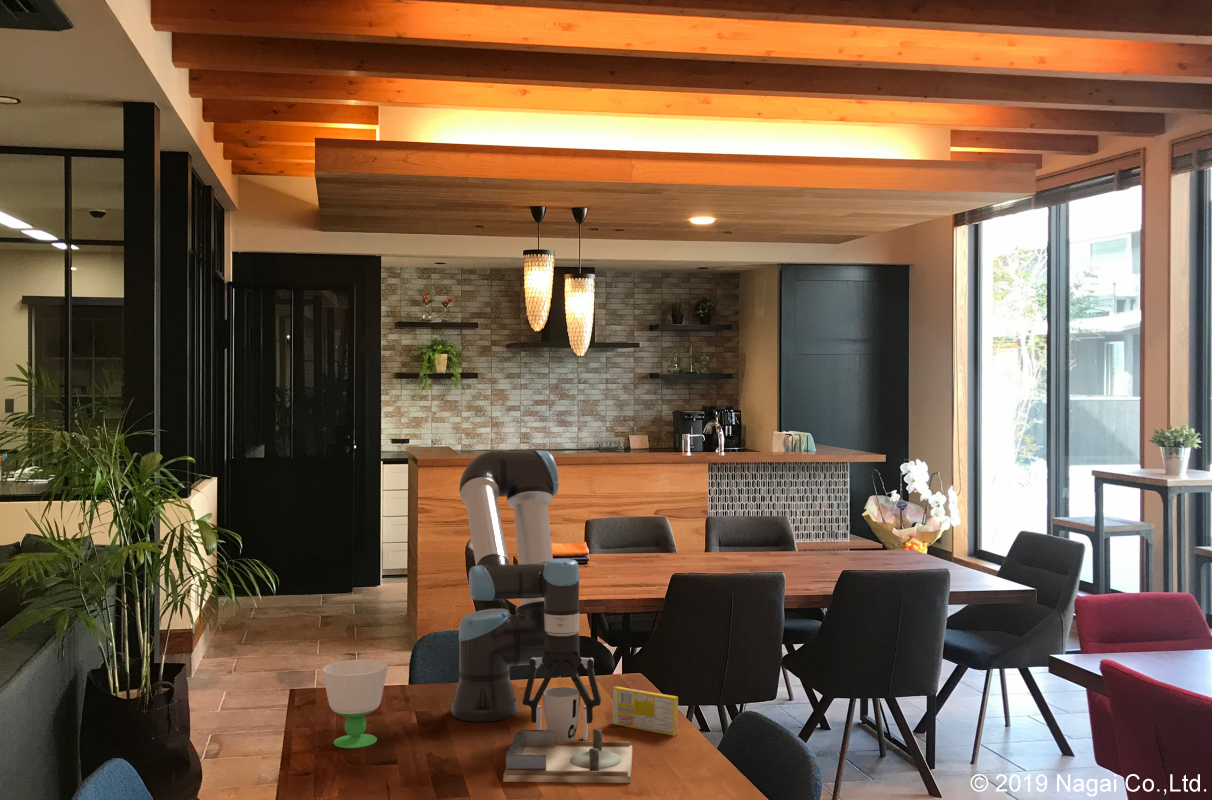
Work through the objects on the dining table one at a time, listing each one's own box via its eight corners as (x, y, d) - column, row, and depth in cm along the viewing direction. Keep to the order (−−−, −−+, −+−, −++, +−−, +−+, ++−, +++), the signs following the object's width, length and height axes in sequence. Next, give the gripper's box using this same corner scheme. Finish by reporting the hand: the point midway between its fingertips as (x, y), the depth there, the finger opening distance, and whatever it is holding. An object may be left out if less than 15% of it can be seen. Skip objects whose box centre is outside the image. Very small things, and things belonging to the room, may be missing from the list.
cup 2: (576, 746, 210) (575, 697, 210) (538, 743, 212) (538, 695, 212) (584, 734, 218) (584, 687, 218) (548, 731, 220) (548, 685, 220)
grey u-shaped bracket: (506, 773, 190) (506, 756, 191) (517, 745, 207) (517, 729, 207) (546, 773, 190) (546, 756, 190) (554, 745, 206) (554, 730, 207)
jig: (503, 781, 190) (503, 753, 190) (516, 750, 208) (516, 724, 208) (630, 783, 189) (630, 755, 189) (632, 751, 207) (632, 725, 207)
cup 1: (333, 731, 221) (333, 659, 221) (395, 731, 220) (395, 659, 221) (313, 752, 207) (313, 674, 207) (379, 752, 207) (379, 675, 207)
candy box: (679, 734, 218) (678, 696, 218) (674, 737, 216) (673, 698, 216) (617, 722, 227) (617, 685, 227) (611, 724, 225) (611, 687, 226)
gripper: (508, 635, 212) (508, 743, 212) (612, 636, 211) (612, 744, 211) (513, 628, 220) (513, 732, 219) (613, 629, 219) (614, 733, 218)
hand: (562, 737), depth 215 cm, fingers open, 9 cm apart
